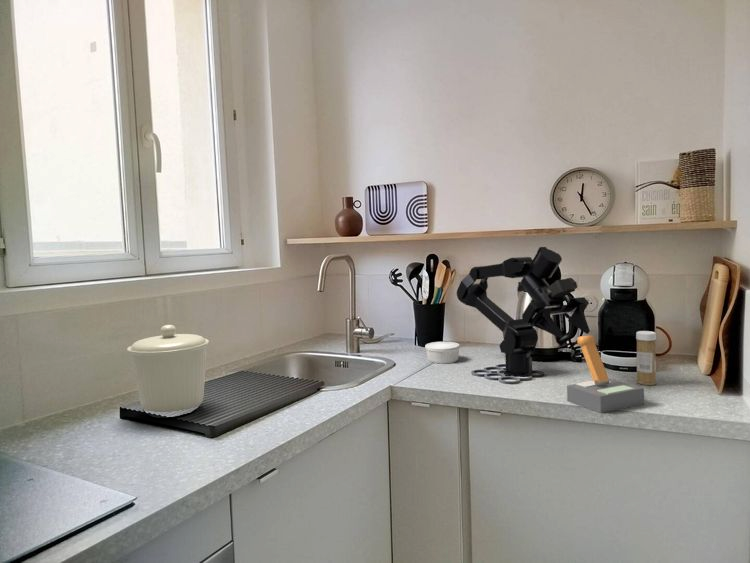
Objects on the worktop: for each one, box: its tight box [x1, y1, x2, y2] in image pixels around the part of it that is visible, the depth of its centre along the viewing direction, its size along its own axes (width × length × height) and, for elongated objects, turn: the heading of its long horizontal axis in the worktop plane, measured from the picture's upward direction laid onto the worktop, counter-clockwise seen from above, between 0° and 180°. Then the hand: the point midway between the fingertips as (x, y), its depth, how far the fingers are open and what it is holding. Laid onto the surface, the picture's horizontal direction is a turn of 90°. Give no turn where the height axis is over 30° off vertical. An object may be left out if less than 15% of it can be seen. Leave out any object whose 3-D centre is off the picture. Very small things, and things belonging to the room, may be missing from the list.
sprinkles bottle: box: [635, 330, 657, 386], centre depth 134 cm, size 5×5×14 cm
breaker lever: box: [576, 334, 609, 386], centre depth 122 cm, size 2×3×12 cm
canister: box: [126, 324, 210, 412], centre depth 124 cm, size 18×18×21 cm
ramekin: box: [424, 341, 461, 365], centre depth 168 cm, size 11×11×5 cm
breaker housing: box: [566, 377, 645, 414], centre depth 120 cm, size 10×13×4 cm
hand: (575, 334), depth 129 cm, fingers open, 9 cm apart
